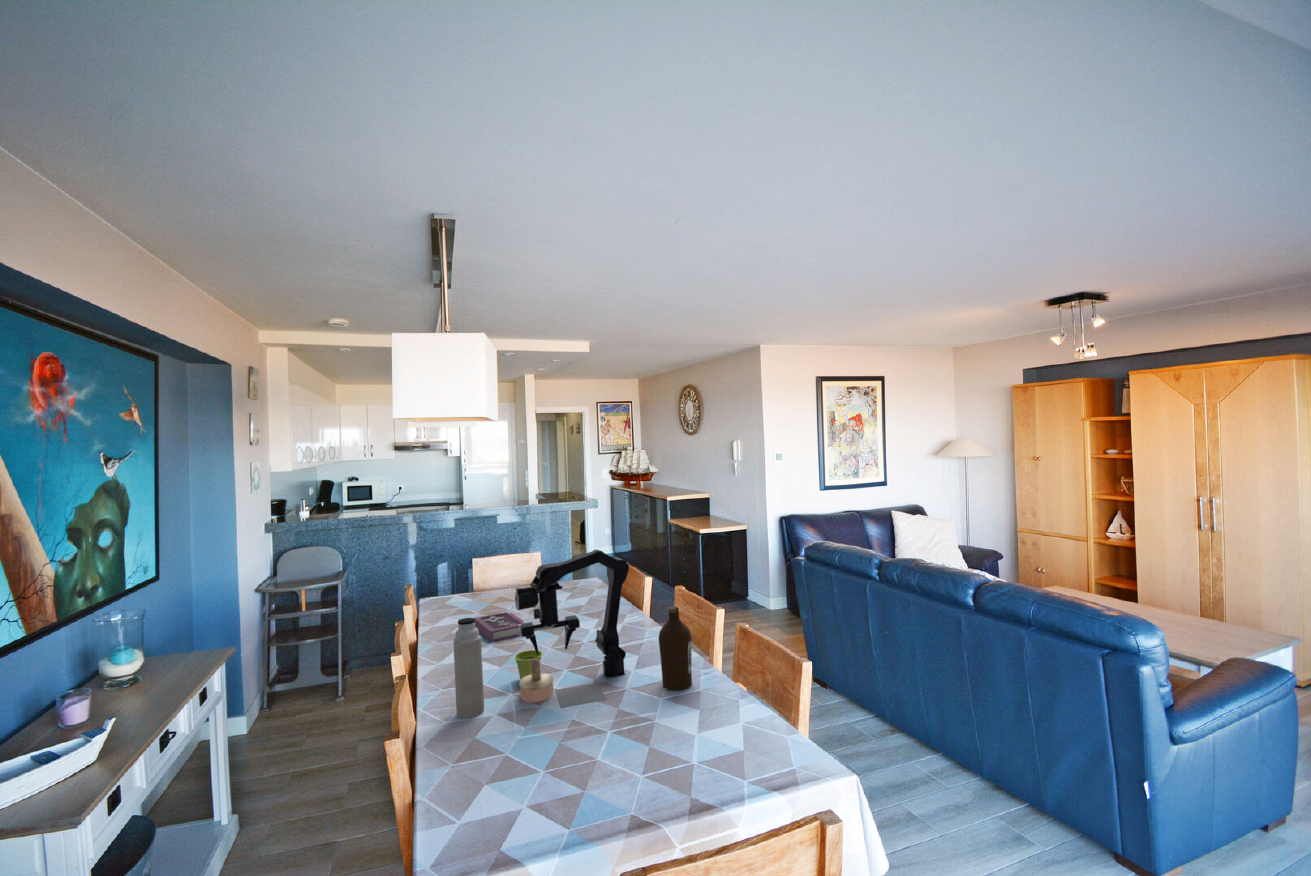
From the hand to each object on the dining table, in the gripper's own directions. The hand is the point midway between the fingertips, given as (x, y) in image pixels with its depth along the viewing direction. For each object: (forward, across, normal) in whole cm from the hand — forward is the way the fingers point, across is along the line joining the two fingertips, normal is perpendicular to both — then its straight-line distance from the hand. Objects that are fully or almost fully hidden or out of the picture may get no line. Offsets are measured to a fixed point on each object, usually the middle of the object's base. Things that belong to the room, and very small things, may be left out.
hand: (551, 651), depth 192 cm
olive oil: (+13, -38, +14) cm, 42 cm away
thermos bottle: (+11, +26, +7) cm, 29 cm away
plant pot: (+12, +7, -11) cm, 18 cm away
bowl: (+12, +6, +4) cm, 14 cm away
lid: (+7, +6, +4) cm, 10 cm away
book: (+13, +13, -73) cm, 75 cm away
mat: (+12, -7, +10) cm, 17 cm away
